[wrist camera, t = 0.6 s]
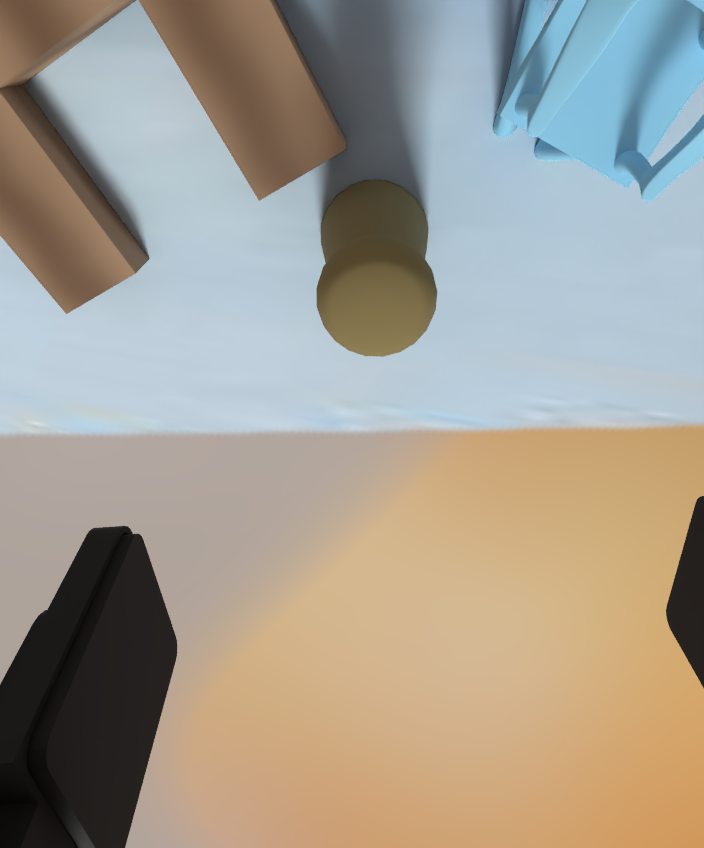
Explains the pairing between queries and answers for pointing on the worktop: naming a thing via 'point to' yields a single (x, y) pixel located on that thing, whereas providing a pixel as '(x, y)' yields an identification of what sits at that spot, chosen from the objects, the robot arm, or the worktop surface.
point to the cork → (375, 269)
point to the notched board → (212, 84)
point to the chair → (608, 85)
